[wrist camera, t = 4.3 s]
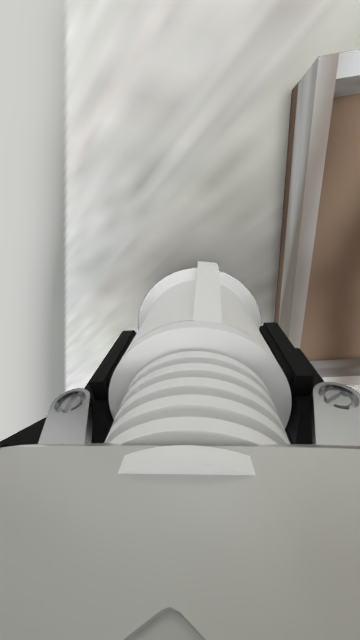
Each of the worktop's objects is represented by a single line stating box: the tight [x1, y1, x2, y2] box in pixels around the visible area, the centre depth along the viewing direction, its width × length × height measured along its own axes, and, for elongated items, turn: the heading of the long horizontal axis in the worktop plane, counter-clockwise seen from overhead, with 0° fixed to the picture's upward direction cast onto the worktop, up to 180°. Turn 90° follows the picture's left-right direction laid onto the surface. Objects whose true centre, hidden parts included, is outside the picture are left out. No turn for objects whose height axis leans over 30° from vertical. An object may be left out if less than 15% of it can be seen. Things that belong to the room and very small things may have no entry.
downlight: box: [104, 261, 292, 475], centre depth 9 cm, size 8×7×10 cm
